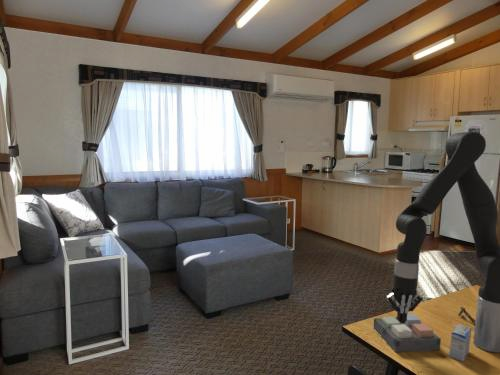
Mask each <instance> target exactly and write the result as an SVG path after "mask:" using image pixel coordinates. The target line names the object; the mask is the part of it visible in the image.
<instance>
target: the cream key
mask: <svg viewBox="0 0 500 375" xmlns="http://www.w3.org/2000/svg"><path fill="white" fill-rule="evenodd" d="M391 332H392V333H393V334H394V335H395V336H396V337H397V338H398V339H399V338H412V330H410V329H409V328H408V327H407V326H406V325H405V324H401V325H392V329H391Z"/></svg>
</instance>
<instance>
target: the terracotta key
mask: <svg viewBox="0 0 500 375" xmlns="http://www.w3.org/2000/svg"><path fill="white" fill-rule="evenodd" d="M412 331H413V332H414V333H415V334H416V335H417V336H418V337H419V338H420V337H433V333H434V330H433V329H432V328H431V327H430V326H429V325H428V324H426V323H422V324H412Z"/></svg>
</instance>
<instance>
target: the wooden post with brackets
mask: <svg viewBox="0 0 500 375" xmlns="http://www.w3.org/2000/svg"><path fill="white" fill-rule="evenodd" d="M463 314H464V315H463ZM457 316H458V317H461V319H462V320H464V321H466V320H467V319H469V321H471V322H472V326H475V321H476V319H474V318H473V317H472V316H471V314H470V313H469V312H468V311H466V308H465V307H464V306H463V307H462V306H460V311H459V312H458V314H457Z"/></svg>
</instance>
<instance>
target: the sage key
mask: <svg viewBox="0 0 500 375" xmlns="http://www.w3.org/2000/svg"><path fill="white" fill-rule="evenodd" d="M396 318H397V317H395V316H383V317H381V322H382V323H383V324H384V325H385V326H386V327H387V328H388V327H392V325H400V322H399V321H398V320H397V319H396Z"/></svg>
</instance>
